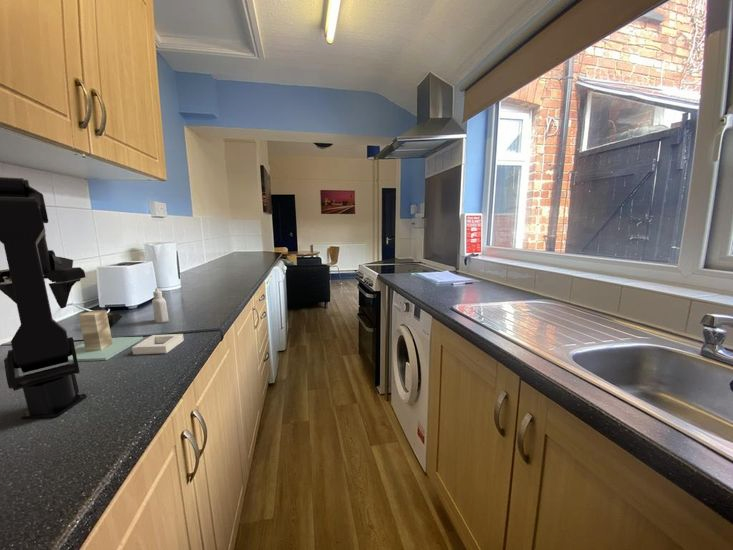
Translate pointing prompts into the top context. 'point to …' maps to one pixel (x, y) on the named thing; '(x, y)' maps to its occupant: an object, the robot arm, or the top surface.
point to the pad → (106, 353)
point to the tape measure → (113, 318)
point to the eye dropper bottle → (159, 307)
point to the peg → (95, 330)
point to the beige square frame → (152, 348)
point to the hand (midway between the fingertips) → (44, 308)
